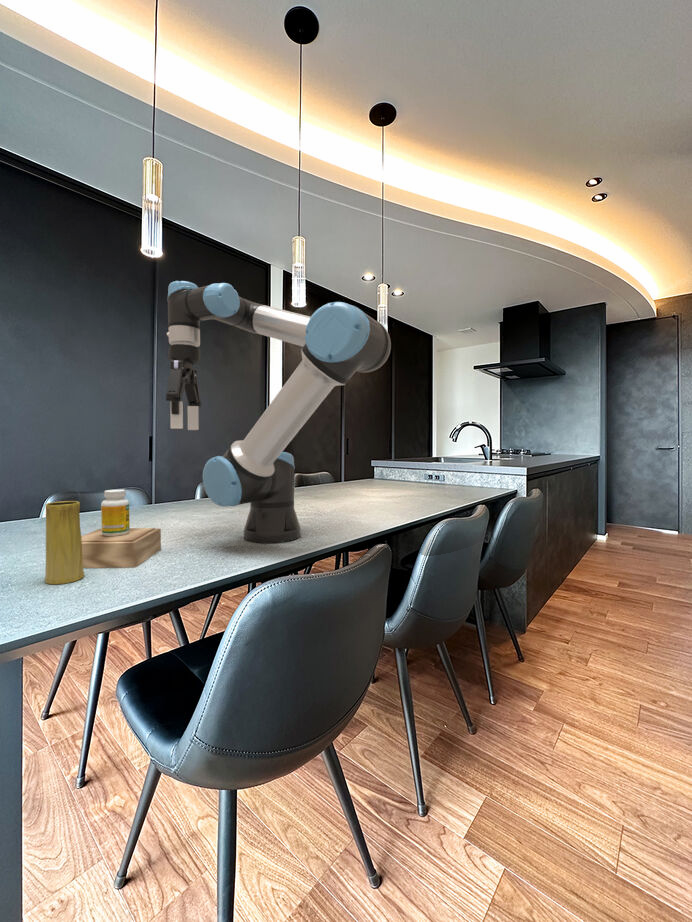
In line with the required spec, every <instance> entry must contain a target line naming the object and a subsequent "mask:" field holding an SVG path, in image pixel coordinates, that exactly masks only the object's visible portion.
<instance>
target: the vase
mask: <svg viewBox="0 0 692 922" xmlns="http://www.w3.org/2000/svg"><path fill="white" fill-rule="evenodd" d="M80 503H81V502H80V501H77V500H64V501H52V502H48V503H46V504H45V576H44V582H45V583H46V585H47V584H48V585H63V584H71V583H73V582H78V581H79V580H82V579H83V578H84V577H85V571H84V568H83V555H82V538H81V536H82V531H81V517H80V506H81V505H80Z"/></svg>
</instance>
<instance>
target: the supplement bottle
mask: <svg viewBox="0 0 692 922" xmlns="http://www.w3.org/2000/svg"><path fill="white" fill-rule="evenodd" d="M126 494H127V493H126V489H121V488H119V489H107V490H104V498H105V499H104V500H102V501H101V504H100V511H101V529H102V535H104V536H121V535H125V534H128V533H129V531H130V530H129V529H130V528H131V527H130V501H129V500H128V499H126V498H125V497H126Z"/></svg>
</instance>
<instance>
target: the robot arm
mask: <svg viewBox="0 0 692 922" xmlns="http://www.w3.org/2000/svg"><path fill="white" fill-rule="evenodd" d="M167 291H168V293H167V298H166V299H167V300H166V301H167V316H168V317H167V319H168V320H167V321H168V322H167V323H168V325H167V327H168V332H166V337H168V344H170V345H169V346H168V360H169V361H170V370H169V378H168V381H167V382H168V383H167V388H166V394H165V395H166V396H165V401H167V402H169V403H170V404H169V409H170V413H169V415H170V419H169V420H170V429H172V430H174V429H175V430H176V429H179V430H180V429H182V430H183V429H184V410H183V409H184V408H183V407H184V406H183V401H181V400H182V398H183V395H184V391H185V394H186V400H187V402H188V406H187V430H188V431H199V430H200V429H199V428H200V427H199V407H202V406H203V405H202V404H203V403H202V402H201V395H200V387H199V382H198V369H196V368H195V369H194V366H193V365H194V364H199V363H200V362H201V349H200V347H201V346H200V345H201V326H200V324H201V322H202V321H207V320H209V321H210V320H216V321H219V322H221V323H224V324H227V325H230V326H234V327H236V328H239V329H241V330H244V331H247V332H248V333H251V334H257V335H262V336H265V337H267V338H272V339H276V340H279V341H282V342H286V343H288V344H292V345H297V346H299V347H302V348H301V349H300V351H301V358H302V360H301V361H300V363H299V364H298V366H296V369H294V371H293V373H291V375H290V377H289V378H288V379H287V381H285V384H283V386H282V387H281V389H280V390H279V391H278V393H277V394H276V395H275V397H274V399H272V401H271V403H270V404H269V405H268V406H267V408H266V409H265V410H264V412H263V413H262V415H260V417H259V418H258V420H257V421H256V423H255V424H254V426H253V427H252V428H251V429H250V431H249V432H248V434H246V436H245V437H244V439H243V440H242V439H241V440H235V441H233V442H232V444H231V445H230V446H229V448H228V449H227V450H226V452H225V453H224V455H222V456H221V455H217V456H214V457H211V458H210V459H208V460H207V462H206V463H205V465H204V468H203V471H202V483H203V488H204V489H203V490H204V492H205V493H206V495H207V497H208V498H209V500H211V502H212V503H214V504H215V505H217V506H219V507H226V508H227V507H237V506H241V505H244V504H249V503H250V509H249V512H248V514H247V518H246V521H245V525H244V528H243V539H244V540H246V541H249V542H252V543H253V542H254V543H264V544H265V543H266V544H267V543H268V544H269V543H271V542H276V543H283V542H282V541H285V542H289V541H288V540H291V541H294V540H293V539H295V540H297V539H299V538H300V537H301V536H300V535H301V533H302V532H301V525H300V521H299V519H298V516H297V511H296V509H295V469H296V466H295V458H294V456H293V455H292V453H289V452H286V451H284V450H285V449H286V448H287V446H288V445H289V444H290V442H292V441H293V439H294V438H295V436H297V434H298V433H299V431H300V430H301V429H302V428H303V426H304V425H305V424H306V423H307V422H308V420H309V419H310V418H311V416H312V415H313V414H315V411H316V410H317V409H318V408H319V406H320V405H321V404H322V402H323V401H325V399H326V398H327V396H328V395H329V394H330V393H331V391H332V390H333V389H334V388H335V387H337V386H345V385H346V384H347V382H349V381H350V379H351V377H353V375H354V374H355V373H356V372H358V373H371V372H374V371H376V370H378V369H379V368H381V367H382V366H383V365H384V364H385V363H386V362H387V360H388V358H389V356H390V354H391V350H392V342H391V337H390V334H389V332H388V330H387V329H386V327H385V326H384V325H383V324H382V323H380V322H379V321H378V320H375V319H374V318H373V317H371V316H370V315H368V314H367V313H365V312H364V311H363V310H362V309H360V308H359V307H357V306H355V305H352V304H349V303H346V302H342V301H333V302H327V303H326V304H324V305H322V306H321V307H319V308H317V309H316V310H315V311H314V312H313V314H312V315H311V316H309V315H305V314H301V313H297V312H292V311H290V310H285V309H281V308H278V307H273V306H269V305H265V304H261V303H258V302H257V303H256V302H253V301H251V300H248V299H246V298H243V297H241V296H239V293H238V292H237V290H236V289H234V286H232V284H230V283H227V282H220V283H218V282H217V283H216V282H215V283H211V284H209V285H205V286H201V287H198V285H197V284H195V283H194V282H190V281H187V280H186V281H185V280H180V281H179V280H175V281H172V282H169V285H168V288H167ZM298 537H299V538H298ZM296 538H297V539H296Z"/></svg>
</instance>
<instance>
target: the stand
mask: <svg viewBox="0 0 692 922" xmlns="http://www.w3.org/2000/svg"><path fill="white" fill-rule="evenodd" d="M129 530H130V531H129V533H128V534H125V535H121V536H104V535H102V528H98V529H96V530H94V531H91V532H88V533H85V534H83V535H81V538H82V555H83V569H101V568H107V569H108V568H110V569H111V568H137V567H138V566H139V565H141V564H142V563H143V562H145V561H147V560H148V559H149V558H150V557H152V556H153V555H155V554H157V553H158V552H160V550H162V541H161V540H162V538H161V537H162V536H161V535H162V532H161V531H162V530H161V528H156V527H151V528H150V527H147V528H146V527H144V528H143V527H141V528H140V527H135V528H134V527H133V528H132V527H130V529H129Z"/></svg>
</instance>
